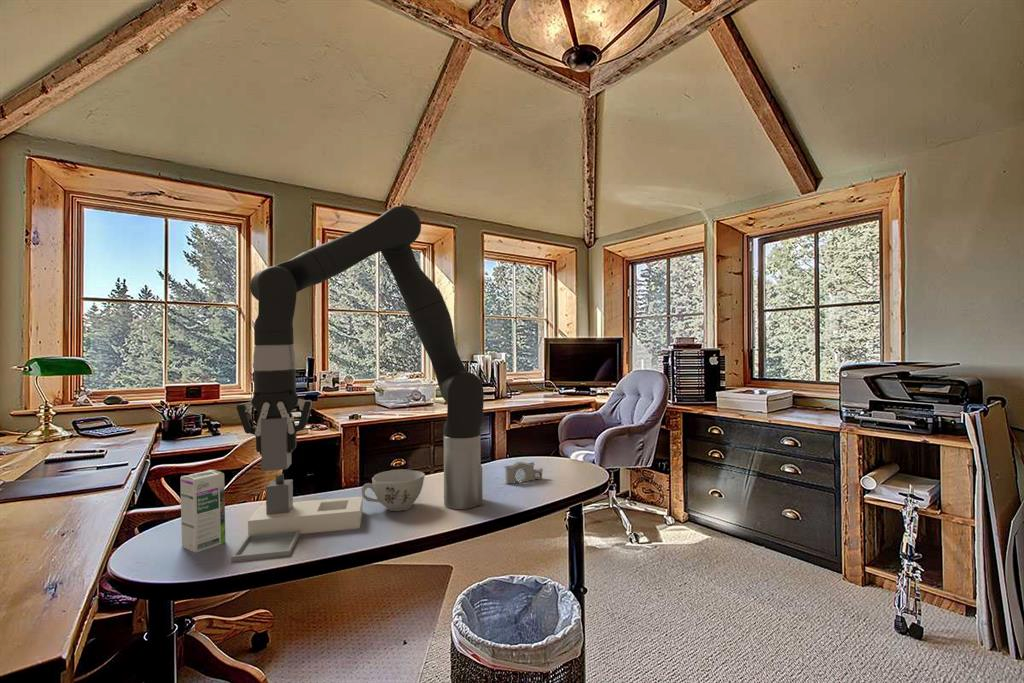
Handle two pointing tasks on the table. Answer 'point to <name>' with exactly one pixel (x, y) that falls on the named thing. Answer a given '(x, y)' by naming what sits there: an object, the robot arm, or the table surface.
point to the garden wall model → (528, 472)
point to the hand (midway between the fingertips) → (276, 452)
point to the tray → (266, 546)
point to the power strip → (303, 512)
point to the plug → (274, 444)
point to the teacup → (395, 488)
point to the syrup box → (202, 510)
